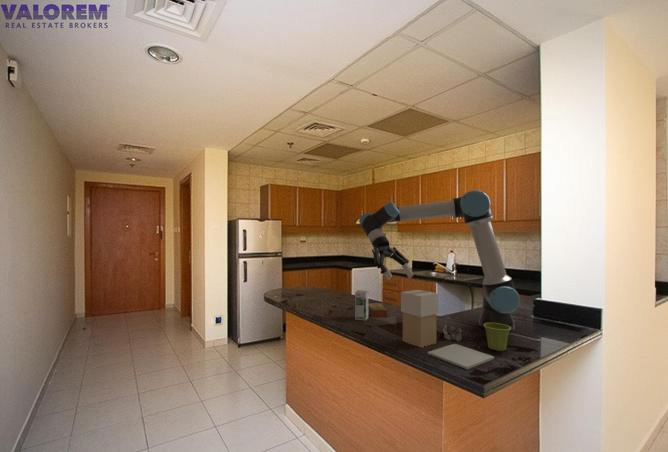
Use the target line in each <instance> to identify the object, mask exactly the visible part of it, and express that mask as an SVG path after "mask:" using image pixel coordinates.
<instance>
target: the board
mask: <svg viewBox="0 0 668 452" xmlns="http://www.w3.org/2000/svg"><path fill="white" fill-rule="evenodd" d="M427 355H429V356H431V355H432V356H431V357H434V358H436V359H439V360H442V361H444V362H447V363H449V364H452V365H455V366H457V367H460V368H462V369H464V370H470V369H472V368H474V367H476V366H479V365H482V364H485V363H487V362H489V361H493V360H494V359H495V356H493V355H491V354H488V353H484V352H481V351H477V350H476V349H472V348H469V347H466V346H463V345H460V344H457V343H452V344H449V345H446V346H442V347H439V348H436V349H433V350H430V351H427Z"/></svg>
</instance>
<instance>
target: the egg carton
mask: <svg viewBox="0 0 668 452" xmlns="http://www.w3.org/2000/svg"><path fill="white" fill-rule="evenodd" d="M442 332H443V333H444V334H443V339H444V338H445V340H448V341H451V340H454V341H456V342H459V341H462V338H463V337H462V332H463V330H462V328H461V327H459V328H457V326H455V327H454V326H451V325H447V324H444V326H443V330H442Z"/></svg>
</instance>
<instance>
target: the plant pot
mask: <svg viewBox="0 0 668 452" xmlns="http://www.w3.org/2000/svg"><path fill="white" fill-rule="evenodd" d="M484 327H485V328H484V329H485V333H486V339H487V341H486V342H487V347H488V348H489V349H490V350H495V351H497V352H504V351H506V350H507V345H508V338H509V334H510V332H511V331H510V330H511V327H509V326H507V325H504V324H499V323H485V324H484Z"/></svg>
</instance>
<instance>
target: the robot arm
mask: <svg viewBox="0 0 668 452" xmlns="http://www.w3.org/2000/svg"><path fill="white" fill-rule="evenodd" d="M492 212H493V211H492V209H491V198H490V197H489V195H487V193H485V192H484V191H481V190H479V189H474V190H470V191H467V192H465V193H464V194H463V195H462V196H460V197H455V198H454V197H453V198H451V199H450V200H445V201H437V202H429V203H420V204H414V205H412V204H411V205H404V206H396V204H395V203H394V202H393V201H389V202H387V203H385V204H384V205H383V206H382V207H380V208H379V209H378V210H377V211H375V212H374V213H371V212H366V213H364V214H362V215H361V216H360V217H359V218H358V219H359V220H358V222H359V224H360V226H361V227H360V228H361V229H362V231H363V232H364V234H365V235H366V237H367V238H368V240H369V242H370V243H371V245H372V247H373V248H372V249H371V252H372V254H373V255H372V257H373V264H374V266H375V267H377V269H380V271H381V272H382V273H383V274H384V276H385V278H386V280H387V281H390V280H391V279H392V277H393V275H392V273H391V271H390V270H389V268H388V266H387V264H386V263H384V261H385V258H390V259H392V260H394V261H395V262H397V263H398V264H399V265H400V266H401V268H402V269H403V271H404V273H405V274H406V276H407V277H408V279H412V277H413V276H414V273H413V271H412V269H411V268H410V266H409V263H410V261H409V259H408V258H406V256H404V255H403V254H402V253H401V252H400V251H399V250H398V249H397V247H395V246H393V247H390V241H389V239H388V238H387V236H386V234H385V233H384V231H383V230H382V227H383V226H384V225H386V224H387V223H395V222H405V221H414V220H415V221H416V220H423V219H424V220H426V219H433V218H434V219H436V218H445V217H453V218H454V219H455V218H456V219H457V218H463V220H464V223H465V225H466V226H469V229H470V231H471V235H472V238H473V241H474V245H475V248H476V251H477V255H478V259H479V262H480V265H481V267H482V268H481V269H482V272H483V275H484V278H483V279H482V283H481V284H482V310H481V314H480V316H479V319H478V326H479V327H480V328H482V329H485V327H484V324H485V323H499V324H504V325H507V326H509V327H511V330H510V331H509V332H513V331H515V329H516V326H515V321H514V319H513V316H512V313H514V312H515V311H517V309H518V308H519V307H520V304H521V298H520V294H519V293H518V291H517V290H516V288H515V285H514V281H513V279H512V277H511V276H509V275H508V274H507V271H506V267H505V265H504V261H503V259H502V254H501V252H500V249H499V245H498V241H497V238H496V236H495V232H494V229H493V226H492V222H491V221H492V220H493V218H494V216H493V213H492Z"/></svg>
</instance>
